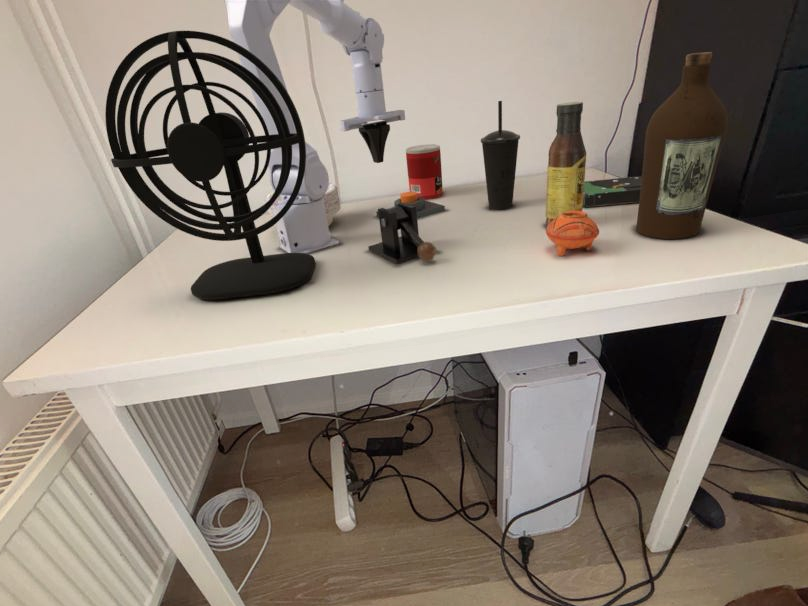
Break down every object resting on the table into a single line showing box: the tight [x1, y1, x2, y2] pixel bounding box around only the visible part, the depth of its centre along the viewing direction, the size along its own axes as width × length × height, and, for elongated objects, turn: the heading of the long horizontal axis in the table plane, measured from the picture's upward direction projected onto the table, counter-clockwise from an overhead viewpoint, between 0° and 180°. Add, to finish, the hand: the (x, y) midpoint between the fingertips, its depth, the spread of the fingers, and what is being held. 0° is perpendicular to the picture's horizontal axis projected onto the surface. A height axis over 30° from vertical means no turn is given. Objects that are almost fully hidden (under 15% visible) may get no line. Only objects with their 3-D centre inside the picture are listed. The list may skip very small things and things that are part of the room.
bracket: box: [368, 203, 437, 265], centre depth 84 cm, size 10×8×8 cm
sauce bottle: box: [545, 101, 587, 227], centre depth 83 cm, size 7×6×20 cm
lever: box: [389, 207, 437, 262], centre depth 81 cm, size 12×3×3 cm, turn 31°
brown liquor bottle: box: [635, 51, 729, 240], centre depth 74 cm, size 11×11×25 cm
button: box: [399, 191, 418, 203], centre depth 104 cm, size 4×4×2 cm
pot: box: [545, 211, 600, 257], centre depth 76 cm, size 8×8×7 cm
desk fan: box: [104, 30, 316, 301], centre depth 72 cm, size 27×18×35 cm, turn 92°
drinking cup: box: [480, 100, 521, 211], centre depth 97 cm, size 8×8×20 cm
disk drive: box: [582, 175, 642, 208], centre depth 98 cm, size 10×3×15 cm
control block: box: [375, 196, 446, 220], centre depth 105 cm, size 12×9×3 cm
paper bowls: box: [264, 182, 341, 227], centre depth 103 cm, size 15×15×8 cm
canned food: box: [405, 143, 444, 201], centre depth 115 cm, size 8×8×11 cm
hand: (378, 162), depth 105 cm, fingers closed
